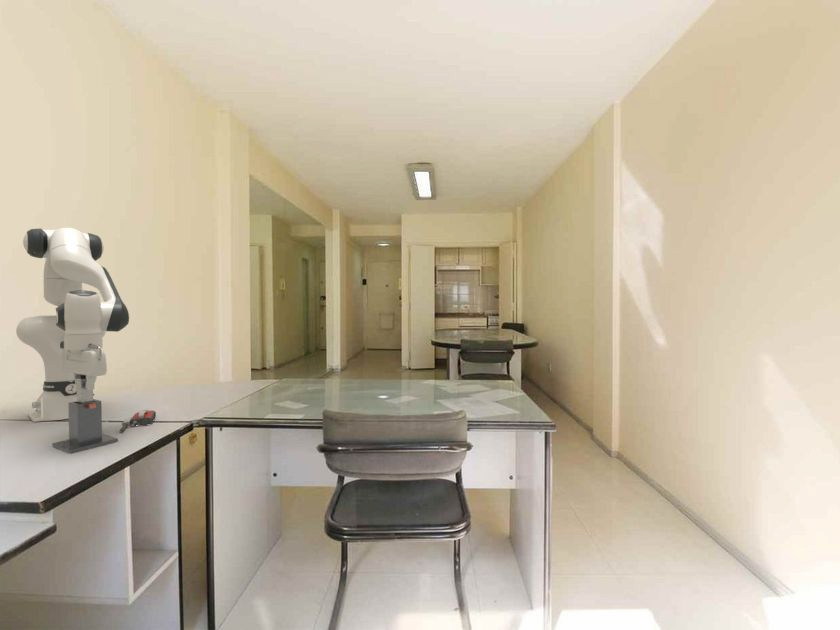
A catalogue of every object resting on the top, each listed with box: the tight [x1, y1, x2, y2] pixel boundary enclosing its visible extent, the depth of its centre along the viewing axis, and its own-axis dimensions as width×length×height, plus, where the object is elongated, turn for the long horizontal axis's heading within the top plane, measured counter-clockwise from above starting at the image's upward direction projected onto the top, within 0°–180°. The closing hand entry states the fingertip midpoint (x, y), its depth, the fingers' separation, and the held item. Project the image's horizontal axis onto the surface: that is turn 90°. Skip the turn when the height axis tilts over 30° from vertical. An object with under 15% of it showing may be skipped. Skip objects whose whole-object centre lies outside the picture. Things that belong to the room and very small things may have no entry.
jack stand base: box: [51, 398, 119, 454], centre depth 122 cm, size 12×12×13 cm
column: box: [76, 375, 95, 404], centre depth 122 cm, size 3×4×20 cm
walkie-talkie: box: [119, 409, 157, 432], centre depth 143 cm, size 9×4×20 cm
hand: (84, 388), depth 122 cm, fingers open, 5 cm apart
